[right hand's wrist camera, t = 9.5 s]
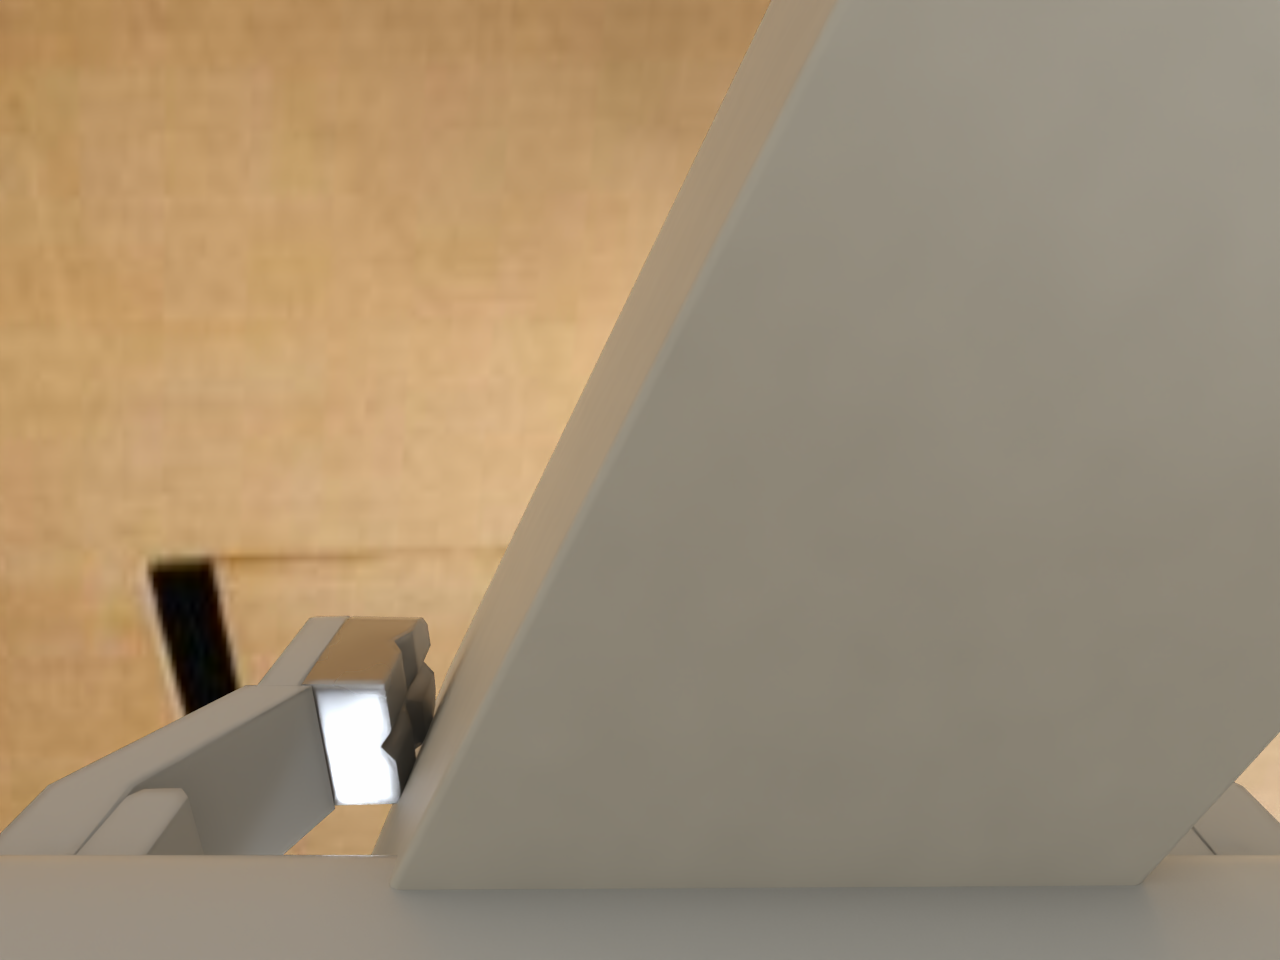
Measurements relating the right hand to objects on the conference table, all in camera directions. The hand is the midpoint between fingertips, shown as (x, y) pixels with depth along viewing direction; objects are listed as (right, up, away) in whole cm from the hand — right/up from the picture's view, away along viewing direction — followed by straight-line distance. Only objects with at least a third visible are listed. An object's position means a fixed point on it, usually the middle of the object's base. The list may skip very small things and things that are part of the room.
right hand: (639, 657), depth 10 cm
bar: (+4, +9, 0) cm, 10 cm away
